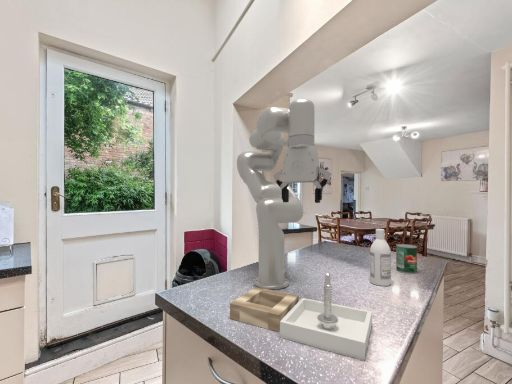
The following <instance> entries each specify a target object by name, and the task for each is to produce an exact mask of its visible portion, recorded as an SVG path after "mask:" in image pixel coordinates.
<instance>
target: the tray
mask: <svg viewBox="0 0 512 384" xmlns="http://www.w3.org/2000/svg"><path fill="white" fill-rule="evenodd" d="M331 304H332V305H331V306H332V308H331V309H332V310H331V311H332V313H331V314H333V315H335V316H336V317H337V318H338V323H336V324H334V328H333V329H331V330H327V329H324V328H323V327H322V323H321V322H319V321H318V319H317V316H318V315H320V314H322V313H324V301H321V300H315V299H311V298H310V299H309V298H304V297H301V299H299V302H298V303H297V304H296V305H295V306H294V307H293V308H292V309H291V310H290V311H289V312H288V313H287V315H286V316H285V317H284V318H283V319H282V320H281V321H280V332H279V338H281V339H286V340H289V341H292V342H296V343H299V344H303V345H307V346H311V347H314V348H318V349H320V350H325V351H328V352H332V353H335V354H338V355H342V356H345V357H350V358H353V359H356V360H360V361H363V362H365V361H366V357H367V351H368V347H369V343H370V337H371V333H372V327H373V311H371V310H366V309H361V308H358V307H357V308H356V307H352V306H346V305H341V304H336V303H333V302H332V303H331Z"/></svg>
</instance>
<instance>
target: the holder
mask: <svg viewBox="0 0 512 384" xmlns="http://www.w3.org/2000/svg"><path fill="white" fill-rule="evenodd" d="M299 296H300V295H299V294H294V293H287V292H282V291H278V290H274V289H264V288H260V287H257V286H255V287H253V288H251V289H250V290H248V291H247V292H245V293H243V294H242V295H241V296H239V297H238V298H236V299H234V300H233V301H231V302H230V303H229V319H230V320H232V321H237V322H241V323H244V324H249V325H251V326H255V327H259V328H263V329H267V330H271V331H274V332H277V333H280V321H281V320H282V319H283V318H284V317H285V316H286V315H287V313H288V312H289V311H290V310H291V309H292V308H293V307H294V306H295V305H296V304H297V303H298V302H299V301H300V297H299Z"/></svg>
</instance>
